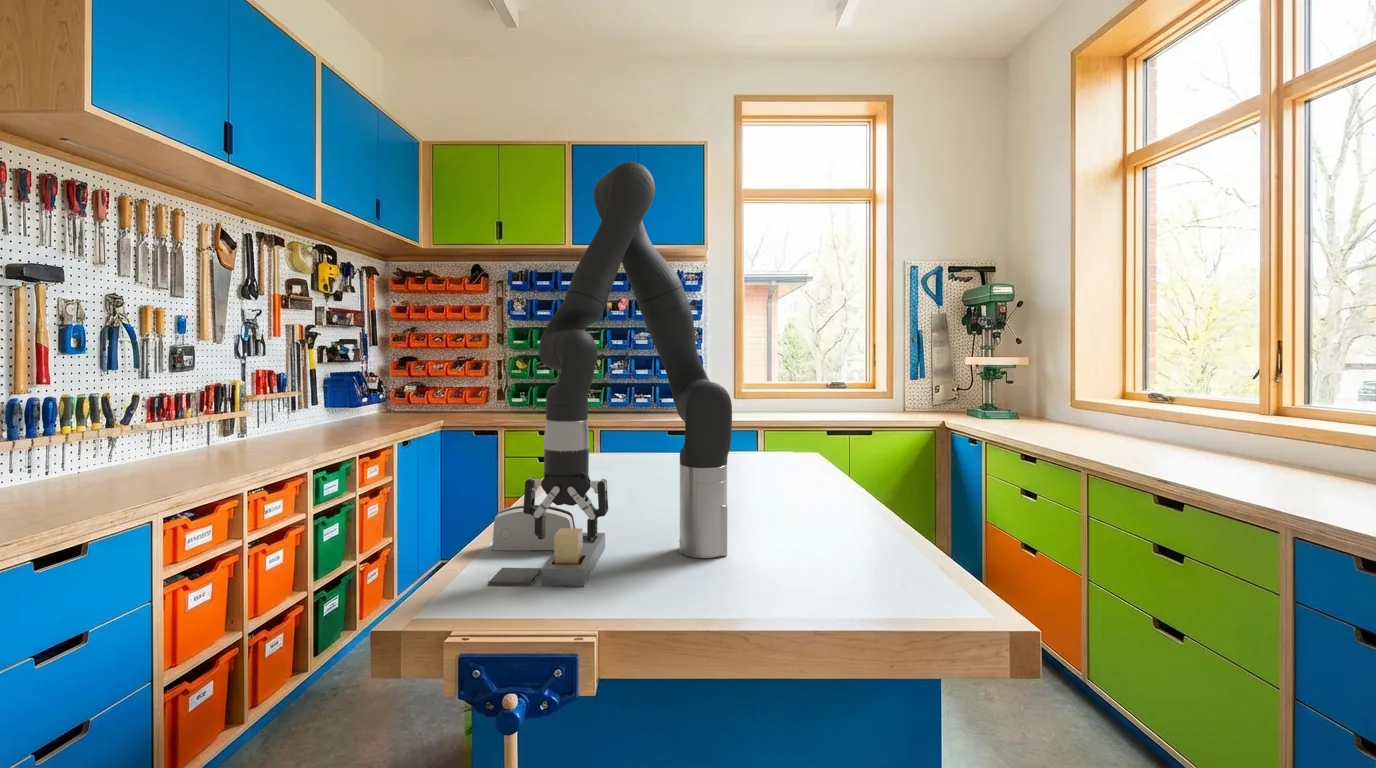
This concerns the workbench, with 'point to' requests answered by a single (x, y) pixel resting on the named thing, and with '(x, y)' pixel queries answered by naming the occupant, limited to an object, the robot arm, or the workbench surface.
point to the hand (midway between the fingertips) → (565, 539)
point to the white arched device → (528, 528)
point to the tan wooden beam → (568, 546)
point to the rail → (574, 573)
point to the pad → (515, 576)
